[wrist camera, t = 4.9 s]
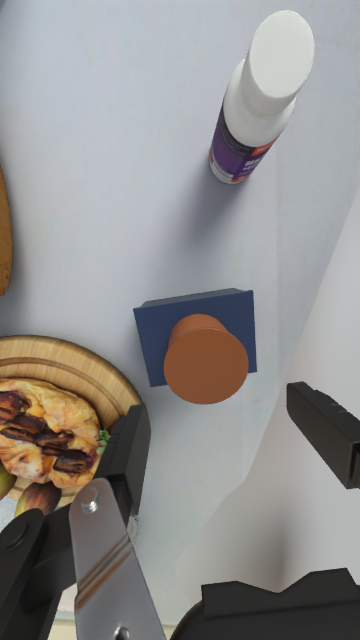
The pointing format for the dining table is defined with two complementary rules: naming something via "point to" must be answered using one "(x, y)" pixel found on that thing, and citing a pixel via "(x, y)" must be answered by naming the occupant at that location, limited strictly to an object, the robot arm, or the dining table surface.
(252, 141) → the pill bottle
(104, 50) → the dining table surface
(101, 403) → the wooden plate
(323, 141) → the dining table surface
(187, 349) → the orange cylinder
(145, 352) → the navy box
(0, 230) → the inscribed clay slab
